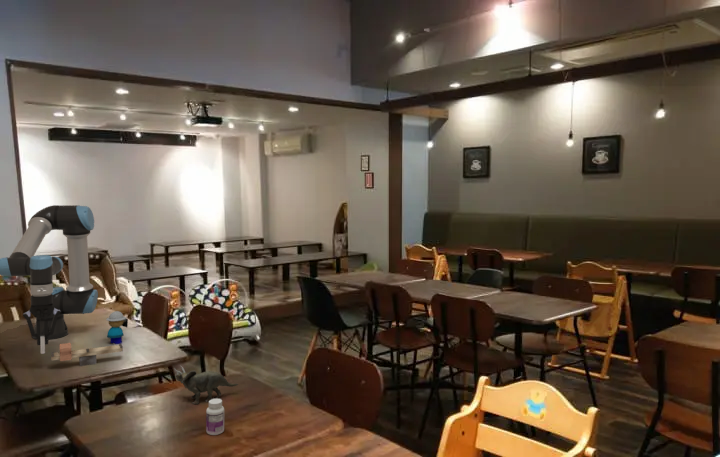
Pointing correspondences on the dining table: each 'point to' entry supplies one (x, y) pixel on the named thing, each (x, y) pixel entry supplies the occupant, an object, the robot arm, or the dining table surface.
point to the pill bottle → (215, 417)
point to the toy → (116, 326)
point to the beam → (89, 354)
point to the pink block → (65, 352)
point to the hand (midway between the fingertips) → (42, 352)
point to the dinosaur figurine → (202, 383)
